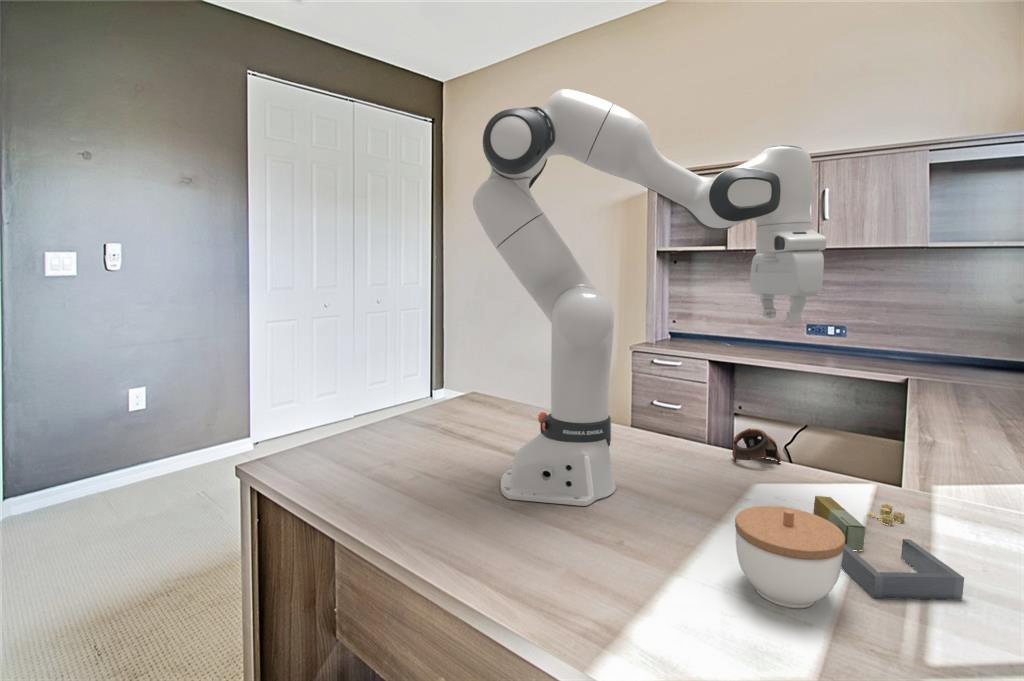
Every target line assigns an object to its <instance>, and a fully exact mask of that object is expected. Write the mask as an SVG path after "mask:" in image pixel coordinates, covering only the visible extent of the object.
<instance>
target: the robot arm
mask: <svg viewBox="0 0 1024 681" xmlns="http://www.w3.org/2000/svg"><path fill="white" fill-rule="evenodd" d="M483 130H484V131H483V135H482V149H483V154H484V156H485V158H486V160H487V162H488V163H489V165H490V168H491V169H490V171H491V172H490V175H489V177H488V178H487V180H485V181H484V182H482V183H481V184H480V186H479V187H478V188H477V190H476V191H475V194H474V195H473V198H472V207H473V210H474V212H475V215H476V217H477V220H478V221H479V223H480V225H481V227H482V228H483V231H484V232H485V234H486V236H487V237H488V239H489V240H490V242H491V244H492V245H493V246H494V248H495V250H496V251H497V252H498V253H499V255H500V256H501V258H502V259H503V260H504V262H505V263H506V265H507V266H508V268H509V269H510V270H511V271H512V274H514V276H515V277H516V278H517V280H518V281H519V282H520V284H521V285H522V286H523V288H524V289H525V290H526V291H527V293H528V294H529V296H531V298H532V299H533V301H535V304H537V306H538V307H539V308H540V310H541V311H542V313H543V314H544V315H545V316H546V318H547V319H548V320H549V322H550V323H551V352H550V353H551V356H550V357H551V359H550V360H551V364H550V366H551V368H550V371H551V373H550V386H551V387H550V413H549V414H547V413H546V412H540V413H539V414H538V416H537V421H538V422H539V424H540V426H539V427H540V433H538V435H536V436H535V437H534V438H532V439H531V440H530V441H528V442H527V443H526V444H525V443H524V445H523V446H521V447H520V448H519V449H518V450H517V451H516V454H515V456H514V457H513V461H512V464H511V468H510V469H508V470H506V471H505V472H504V473H502V476H501V479H500V486H499V488H500V492H501V494H502V495H503V496H504V497H505V498H506V499H508V500H514V501H525V502H538V503H547V504H548V503H549V504H558V505H570V506H581V507H585V506H586V507H587V506H589V505H591V504H593V503H594V502H595V501H597V500H601V499H604V498H607V497H608V496H609V497H610V495H612V494H614V492H615V491H616V489H617V484H616V482H615V479H614V474H613V468H612V463H611V455H610V446H611V441H612V418H611V417H610V415H609V414H610V413H609V411H610V410H609V408H610V374H611V373H610V371H611V364H612V363H611V362H612V353H613V352H612V351H613V342H614V340H613V339H614V329H615V328H614V323H615V313H614V309H613V306H612V304H611V302H610V300H609V299H608V297H606V296H605V295H604V294H603V293H601V292H600V291H599V290H597V289H596V287H595V286H594V284H593V282H592V281H591V280H590V278H589V277H588V275H587V274H586V272H585V271H584V270H583V268H582V266H581V265H580V264H579V262H578V260H577V258H576V257H575V256H574V254H573V252H572V251H571V249H570V248H569V246H568V245H567V244H566V242H565V241H564V239H563V238H562V236H561V235H560V233H559V232H558V231H557V229H556V228H555V226H554V225H553V223H552V222H551V221H550V220H549V218H548V217H547V216H546V214H545V212H544V211H543V210H542V208H541V207H540V206H539V205H538V203H537V202H536V200H535V198H534V196H533V195H532V192H531V190H530V189H531V188H532V186H533V185H534V184H535V182H536V181H537V179H538V178H539V177H540V176H541V174H542V173H543V171H544V169H545V167H546V165H547V161H548V158H549V157H552V156H555V155H556V156H557V155H561V156H566V157H570V158H573V159H574V160H576V161H578V162H580V163H582V164H584V165H586V166H588V167H590V168H593V169H595V170H597V171H600V172H603V173H606V174H608V175H610V176H614V177H618V178H620V179H624V180H626V181H629V182H632V183H635V184H638V185H641V186H643V187H644V188H646V189H649V190H650V191H652V192H654V193H656V194H658V195H660V196H661V197H664V198H665V199H667V200H669V201H672V202H673V203H675V204H677V205H678V206H680V207H681V208H683V209H684V210H685V211H686V212H687V213H688V214H689V215H690V217H691V218H692V219H693V220H694V221H695V223H696V224H697V225H698V226H700V227H701V228H702V229H705V230H707V231H711V232H722V231H726V230H729V229H731V228H733V227H735V226H738V225H740V224H743V223H746V222H747V221H754V222H755V225H756V230H755V234H756V235H755V253H756V254H754V256H753V258H752V260H751V261H752V262H751V265H750V266H751V268H750V281H749V288H750V290H751V293H753V294H754V293H756V294H760V296H759V298H760V299H759V300H760V303H761V307H762V309H763V310H762V316H763V318H765V319H766V318H767V319H774V318H776V316H777V314H776V313H777V308H775V304H774V303H775V302H774V300H775V295H778V296H787V297H788V296H789V297H788V299H789V300H788V302H789V303H790V305H789V310H788V311H786V321H787V322H788V323H791V324H792V323H793V324H795V323H796V324H798V323H801V321H802V312H803V310H804V308H805V305H806V302H807V297H816V296H818V295H819V294H820V292H821V290H822V288H823V281H824V271H825V270H824V268H825V267H824V266H825V258H824V253H823V252H822V251H824V250H826V248H827V237H826V236H825V235H823V234H821V233H819V232H817V231H816V230H814V229H813V218H812V215H811V206H812V202H813V199H814V169H813V168H814V167H813V162H812V158H811V155H810V153H809V152H808V151H807V150H805V149H804V148H801V147H799V146H795V145H787V144H786V145H784V144H782V145H773V146H768V147H766V148H764V149H763V151H762V152H760V153H759V154H757V155H756V156H754V157H753V158H751V159H749V160H748V161H745V162H744V163H741V164H740V165H736V166H734V167H731V168H728V169H726V170H723V171H722V172H720V173H718V174H717V175H715V176H713V177H707V176H705V177H704V176H701V175H699V174H696V173H695V172H692V171H691V170H689V169H687V168H685V167H683V166H681V165H679V164H678V163H676V162H674V161H672V160H670V159H668V158H667V157H665V156H664V155H663V154H662V153H661V152H660V150H658V149H657V147H656V145H655V143H654V140H653V138H652V135H651V132H650V130H649V128H648V126H647V124H646V122H644V121H643V120H641V119H640V118H639V117H638V116H636V115H635V114H634V113H632V112H631V111H629V110H627V109H625V108H623V107H622V106H619V105H617V104H615V103H613V102H611V101H608V100H607V99H603V98H602V97H598V96H596V95H592V94H589V93H587V92H583V91H580V90H576V89H575V90H574V89H571V88H570V89H569V88H561V89H558V90H557V91H555V92H554V93H553V94H551V95H550V96H549V98H548V99H547V100H546V102H545V103H544V105H543V107H540V106H529V107H521V108H520V107H519V108H518V107H517V108H516V107H515V108H514V107H513V108H508V109H504V110H501V111H498V112H497V113H495V114H494V115H493V116H492V117H491V118H490V119H489V120H488V121H487V124H486V126H485V128H484V129H483Z"/></svg>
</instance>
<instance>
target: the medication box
mask: <svg viewBox="0 0 1024 681" xmlns="http://www.w3.org/2000/svg"><path fill="white" fill-rule="evenodd" d="M813 504H814V505H813V513H812V514H814V515H817V516H819V517H822V518H824V519H826V520H828V521H829V522H831V523H833V524H834V525H836V526H837V527H838V528H839V529H840V530H841V531H842V533H843V534H844V536H845V544H846V545H848V546H849V547H850V548H851V549H852V550H857V551H859V550H864V543H865V536H866V527H865V526H864V525H863V524H862V523H861V522H860V521H859V520H857V519H856V518H855V517H854V516H853V515H852V514H850V513H849V512H848V511H847V509H845V508H844V507H842V505H840V504H839V503H838V502H837V501H836V500H835V499H834V498H832V497H831V496H824V495H815V496H814V503H813Z"/></svg>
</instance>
